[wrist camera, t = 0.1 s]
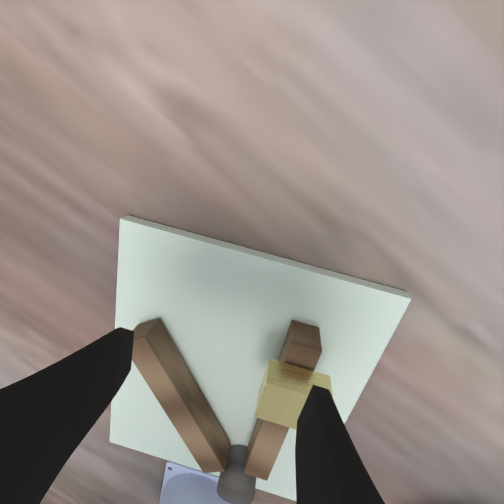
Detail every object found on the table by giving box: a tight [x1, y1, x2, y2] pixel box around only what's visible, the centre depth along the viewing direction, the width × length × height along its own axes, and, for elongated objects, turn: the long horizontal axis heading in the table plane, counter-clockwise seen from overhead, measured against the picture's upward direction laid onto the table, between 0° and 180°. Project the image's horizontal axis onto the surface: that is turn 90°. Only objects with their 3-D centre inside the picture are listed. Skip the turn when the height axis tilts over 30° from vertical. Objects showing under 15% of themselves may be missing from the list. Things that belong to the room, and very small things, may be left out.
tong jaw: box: [132, 318, 231, 473], centre depth 23 cm, size 14×2×2 cm, turn 22°
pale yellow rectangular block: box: [255, 358, 333, 430], centre depth 18 cm, size 3×4×2 cm
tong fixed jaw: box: [217, 320, 322, 504], centre depth 22 cm, size 18×4×3 cm, turn 167°
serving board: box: [110, 215, 411, 501], centre depth 24 cm, size 24×20×1 cm
